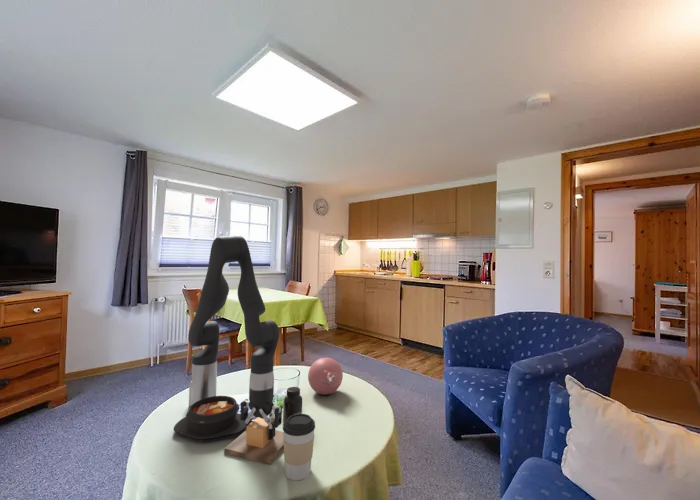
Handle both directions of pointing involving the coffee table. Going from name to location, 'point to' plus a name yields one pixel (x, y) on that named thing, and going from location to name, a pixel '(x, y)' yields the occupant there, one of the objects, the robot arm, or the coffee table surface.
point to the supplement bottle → (292, 403)
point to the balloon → (325, 376)
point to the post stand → (256, 448)
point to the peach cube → (257, 433)
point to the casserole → (211, 418)
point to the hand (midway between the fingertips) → (260, 436)
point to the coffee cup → (298, 445)
